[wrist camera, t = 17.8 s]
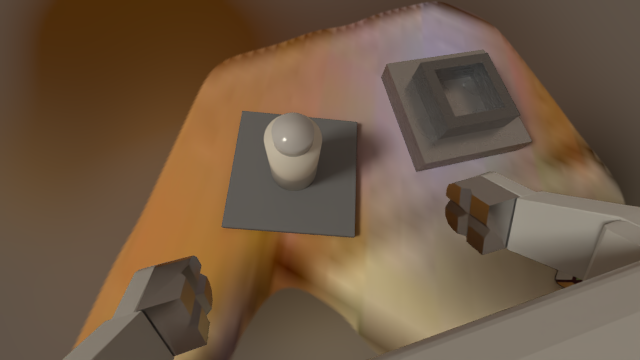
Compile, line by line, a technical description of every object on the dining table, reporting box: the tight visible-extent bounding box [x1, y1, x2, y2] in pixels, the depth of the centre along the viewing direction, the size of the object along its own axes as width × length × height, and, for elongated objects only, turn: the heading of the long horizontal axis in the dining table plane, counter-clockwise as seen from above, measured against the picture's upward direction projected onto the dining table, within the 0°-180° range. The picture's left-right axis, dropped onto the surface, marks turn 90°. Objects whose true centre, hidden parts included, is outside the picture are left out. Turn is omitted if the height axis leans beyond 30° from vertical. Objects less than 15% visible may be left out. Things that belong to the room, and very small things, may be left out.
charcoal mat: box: [222, 111, 357, 237], centre depth 25 cm, size 11×11×1 cm
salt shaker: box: [264, 113, 322, 191], centre depth 21 cm, size 4×4×7 cm
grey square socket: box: [381, 50, 532, 172], centre depth 27 cm, size 11×11×4 cm
